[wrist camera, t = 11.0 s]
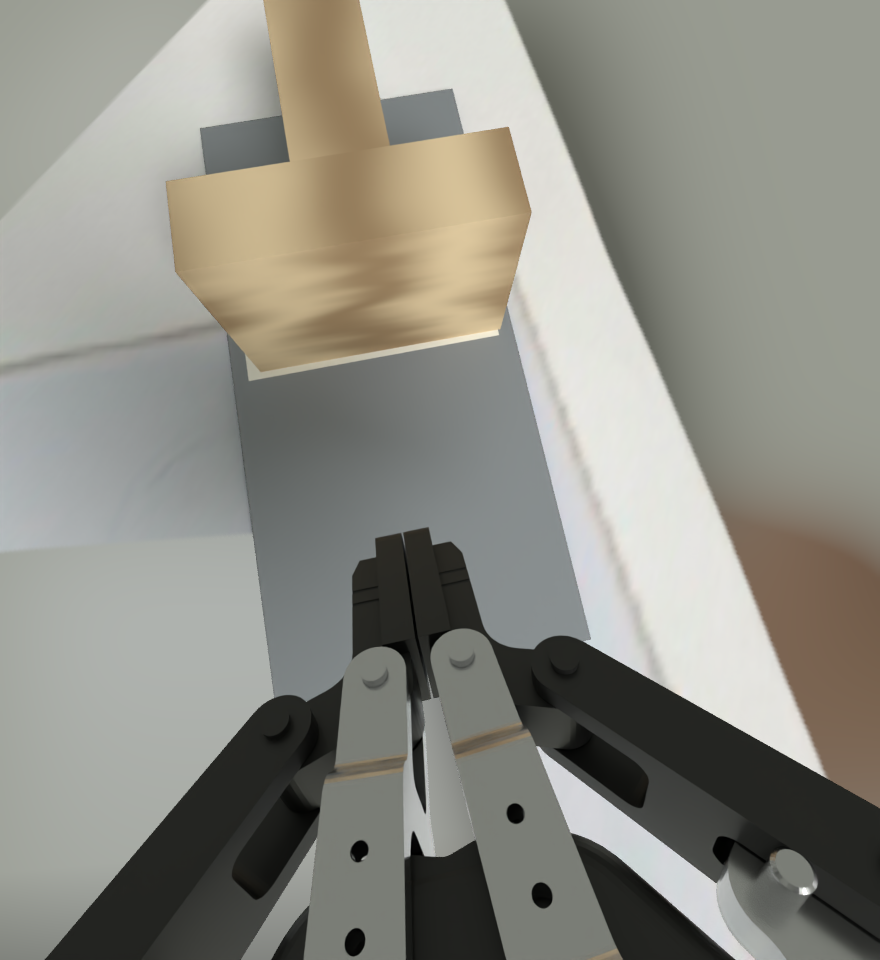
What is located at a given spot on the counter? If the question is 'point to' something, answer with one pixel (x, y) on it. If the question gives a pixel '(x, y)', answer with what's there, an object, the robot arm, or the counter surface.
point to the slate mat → (392, 462)
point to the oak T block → (349, 215)
